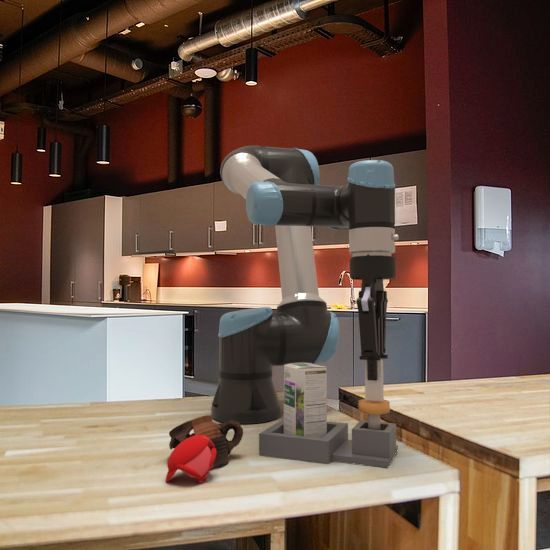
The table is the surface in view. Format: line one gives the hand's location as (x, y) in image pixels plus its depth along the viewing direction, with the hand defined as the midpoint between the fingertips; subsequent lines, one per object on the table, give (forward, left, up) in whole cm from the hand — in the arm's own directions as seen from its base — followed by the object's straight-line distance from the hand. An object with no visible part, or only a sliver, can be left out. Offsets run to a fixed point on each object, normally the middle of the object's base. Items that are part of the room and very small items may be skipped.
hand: (374, 399), depth 86 cm
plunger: (0, 0, -6) cm, 6 cm away
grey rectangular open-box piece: (-8, 0, -9) cm, 12 cm away
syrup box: (-12, 0, -10) cm, 15 cm away
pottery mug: (-25, -11, -10) cm, 29 cm away
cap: (-23, -19, -10) cm, 31 cm away
